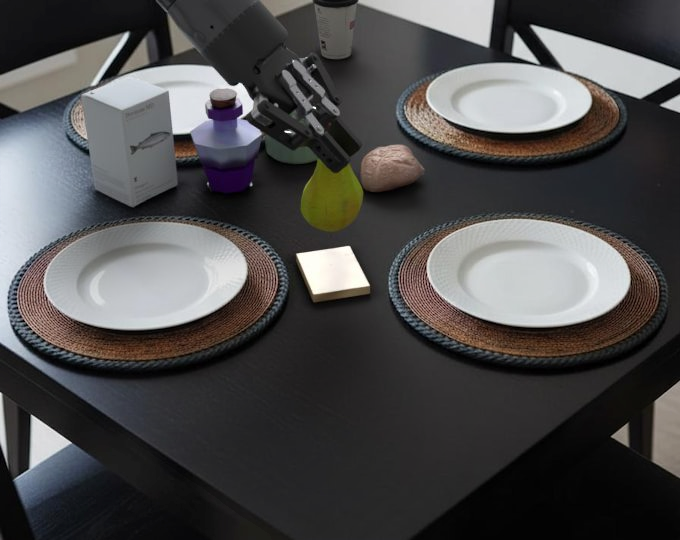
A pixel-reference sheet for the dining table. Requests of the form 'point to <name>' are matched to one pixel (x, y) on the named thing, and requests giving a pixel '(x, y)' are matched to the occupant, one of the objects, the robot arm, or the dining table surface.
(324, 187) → the fruit
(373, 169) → the brown rounded lump
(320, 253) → the board
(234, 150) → the potion bottle
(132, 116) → the white packaging box
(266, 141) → the bowl
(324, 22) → the coffee cup
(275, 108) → the robot arm
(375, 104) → the dining table surface
